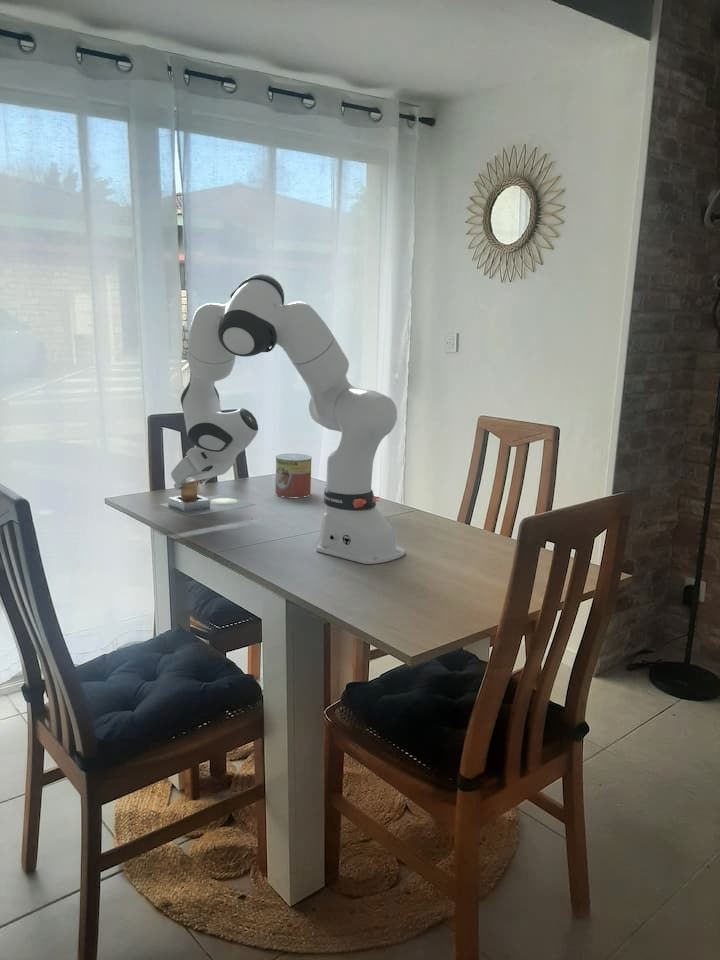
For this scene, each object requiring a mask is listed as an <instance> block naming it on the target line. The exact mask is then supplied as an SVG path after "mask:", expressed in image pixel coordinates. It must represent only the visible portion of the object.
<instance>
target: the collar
mask: <svg viewBox="0 0 720 960" xmlns="http://www.w3.org/2000/svg"><path fill="white" fill-rule="evenodd" d="M205 497H206V496H203V495H200V494H197V500H193V501H187V502H185V501H183V500H181V495H175V496H169V497H168V498H167V500H168V501H167V503H168V506H170V507H173V508H175V509H178V510H180V511H183V512H187V511H193V510H199V509H205V508H210V499H208V498H205Z"/></svg>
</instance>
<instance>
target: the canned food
mask: <svg viewBox="0 0 720 960" xmlns="http://www.w3.org/2000/svg"><path fill="white" fill-rule="evenodd" d="M312 459H313V458H312V456H311V455H307V454H302V453H282V454H276V456H275V493H276V494H277V495H279V496H284V497H304V496H308V495H310V493H311V486H312V485H311V484H312ZM275 493H274V494H275ZM277 495H276V496H277ZM279 496H278V497H279ZM310 496H311V495H310ZM284 497H283V498H284ZM308 497H309V496H308Z"/></svg>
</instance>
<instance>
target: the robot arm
mask: <svg viewBox="0 0 720 960" xmlns="http://www.w3.org/2000/svg"><path fill="white" fill-rule="evenodd" d="M276 345H278V346H279V347H280V348H282V350H283V351H284V353H285V354H286V355H287V357H288V359H289V360H290V362H291V363H292V365H293V366H294V368H295V369H296V371H297V372H298V373H299V376H300V377H301V378H302V380H303V381H304V383H305V385H306V387H307V389H308V391H309V394H310V399H309V403H308V409H309V411H308V412H309V415H310V417H311V419H312V420H313V421H314V422H315V423H317V424H318V425H320V426H322V427H324V428H325V429H327V430H329V431H336V432H341V438H340V441H339V445H338V446H337V449H336V450H334V451H332V452H331V453H330V454H329V455H328V457H327V461H326V484H325V485H326V487H325V488H324V492H323V503H324V505H325V507H324V512H323V515H322V519H321V526H320V533H319V537H318V541H317V546H316V552H319V553H323V554H327V555H330V556H334V557H337V558H341V559H345V560H348V561H353V562H357V563H361V564H364V565H372V564H373V565H374V564H380V563H381V564H382V563H386V562H390V561H393V560H397V559H399V558H402V557H403V556H404V555H405V554H406V551H405V549H404V548H403V547H401V546H399V545H397V543H396V533H395V530H394V527H393V526H392V525H391V524H390V522H389V521H388V520H387V519H386V518H385V516H384V515H383V514H382V513H381V512H380V511H379V509H378V508H377V507H376V506H377V503H376V502H380V499H379V498H380V496H375V495H374V491H373V490H372V483H373V482H372V481H373V469H374V460H375V456H376V453H377V450H378V448H379V445H380V444H381V442H382V441H383V439H384V438H385V437H386V436H388V435H389V434H390V433H391V432H392V431H393V429H394V428H395V427H396V424H397V420H398V411H397V410H398V409H397V406H396V403H395V401H394V400H393V399H392V398H390V397H388V396H387V395H385V394H383V393H381V392H378V391H376V390H371V389H370V390H369V389H364V388H358V387H355V386H354V385H352V384H351V383H350V382H349V380H348V377H347V373H348V371H349V368H350V365H349V364H350V363H349V360H348V357H347V356H346V354H345V352H344V351H343V349H342V347H341V346H340V345H339V342H338V341H337V339H336V338H335V336H334V334H333V333H332V331H331V329H330V328H329V327H328V325H327V324H326V322H325V321H324V320H323V319H322V317H321V316H320V315H319V314H318V312H317V311H316V310H315V309H314V308H313V307H312V306H311V305H310V304H309V303H306V302H305V301H292V302H290V303H287V304H286V305H285V292H284V289H283V287H282V285H281V284H280V282H279V281H278V280H277V279H276V278H275V277H272V276H271V275H269V274H265V273H257V274H255V273H254V274H252V275H251V276H249V277H248V278H246V279H244V281H242V282H241V283H240V284H239V285H238V287H237V288H236V289H235V290H233V292H232V293H231V294H230V300H229V301H228V302H227V303H225V304H221V303H216V302H211V303H210V302H208V303H205V304H203V305H201V306H199V307H198V308H197V309H196V310H195V312H194V314H193V318H192V321H191V324H190V328H189V333H188V341H187V361H188V368H189V372H190V376H189V381H188V384H187V385H186V387H185V388H184V390H183V392H182V393H181V395H180V404H181V408H182V411H183V418H184V423H185V428H186V429H185V430H186V434H187V435H186V436H187V438H188V439H187V440H188V442H189V443H191V445H193V446H195V447H192V448H190V449H188V450H187V451H186V453H185V455H186V456H185V457H184V458H182V459H181V460H180V461H179V462H178V463H177V465H175V467H174V468H173V470H172V471H171V473H170V476H171V479H172V480H173V481H174V484H173V487H174V489H175V490H176V491H178V490H181V489H182V487H183V484H184V483H189V482H193V481H197V483H198V484H199V485H204V484H205V483H206V482H207V481H209V480H210V479H212V478H214V477H218V476H223V475H224V474H226V473H228V471H229V470H230V469H231V468H232V467H233V465H235V462H236V459H237V457H238V455H239V454H240V453H241V452H243V451H244V450H245V449H246V448H248V446H249V445H250V444H251V443H252V442H253V441H254V439H255V438H256V436H257V434H258V432H259V425H258V422H257V419H256V417H255V416H254V415H253V413H252V412H250V411H249V410H247V409H246V408H244V407H242V408H239V409H237V410H235V411H230V412H222V408H221V403H220V401H221V400H220V394H219V392H218V390H217V388H216V386H215V382H218V381H221V380H224V379H226V378H227V377H229V376H230V375H231V373H232V371H233V368H234V365H235V361H236V357H253V356H256V355H257V356H258V355H259V354H261V353H269V352H271V351H272V350H273V349H274V348H275V347H276Z"/></svg>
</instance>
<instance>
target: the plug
mask: <svg viewBox="0 0 720 960" xmlns="http://www.w3.org/2000/svg"><path fill="white" fill-rule="evenodd" d="M197 495H198V481H193V482H189V483H184V484H183V487H182V489H180V496H181V500H183V501H185V502H187V501H193V500H197Z"/></svg>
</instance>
